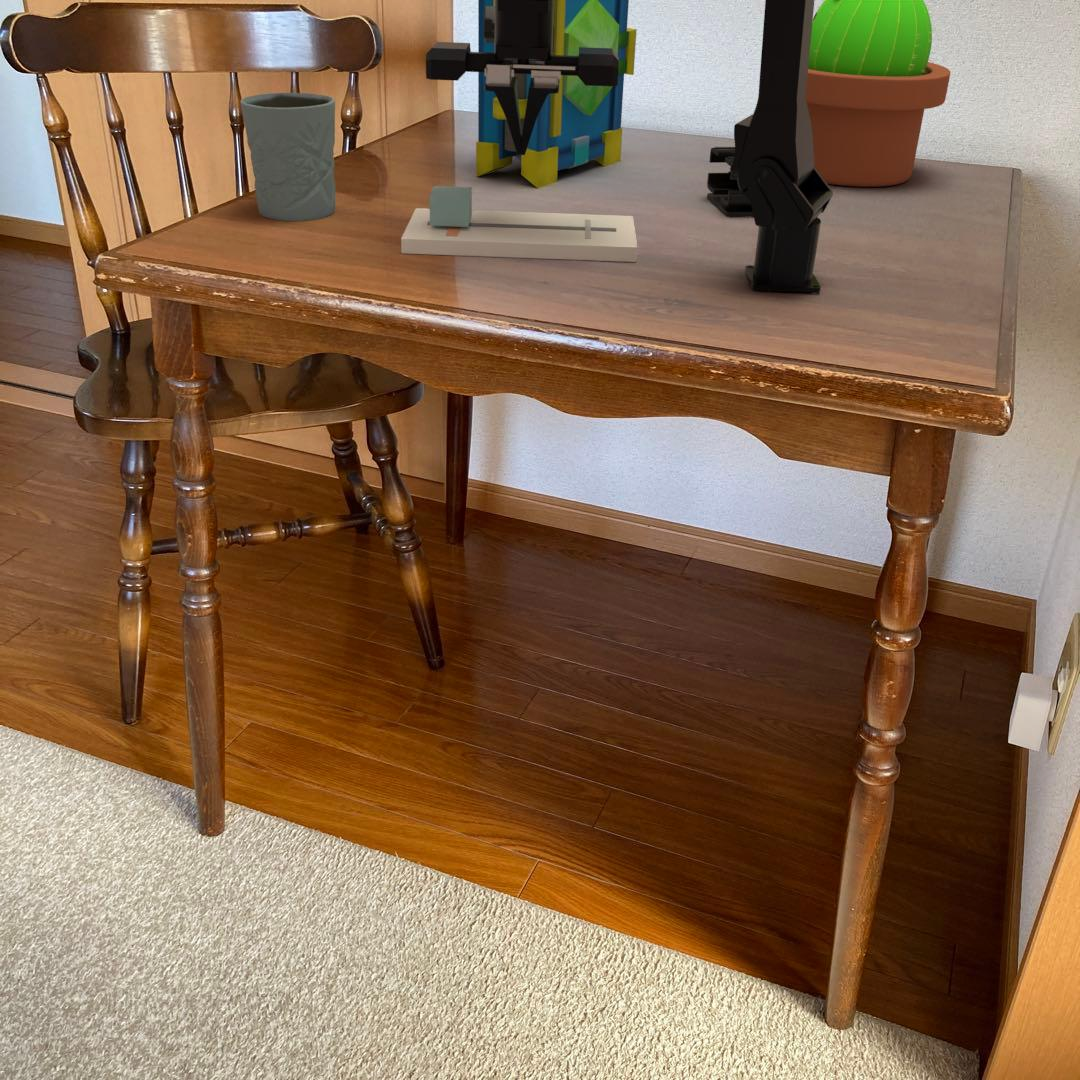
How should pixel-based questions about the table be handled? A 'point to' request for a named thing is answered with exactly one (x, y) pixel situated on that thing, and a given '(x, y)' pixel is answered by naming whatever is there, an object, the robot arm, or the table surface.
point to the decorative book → (562, 98)
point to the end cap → (727, 186)
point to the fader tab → (450, 206)
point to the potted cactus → (870, 89)
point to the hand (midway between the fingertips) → (521, 154)
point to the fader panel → (525, 236)
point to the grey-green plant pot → (292, 154)
